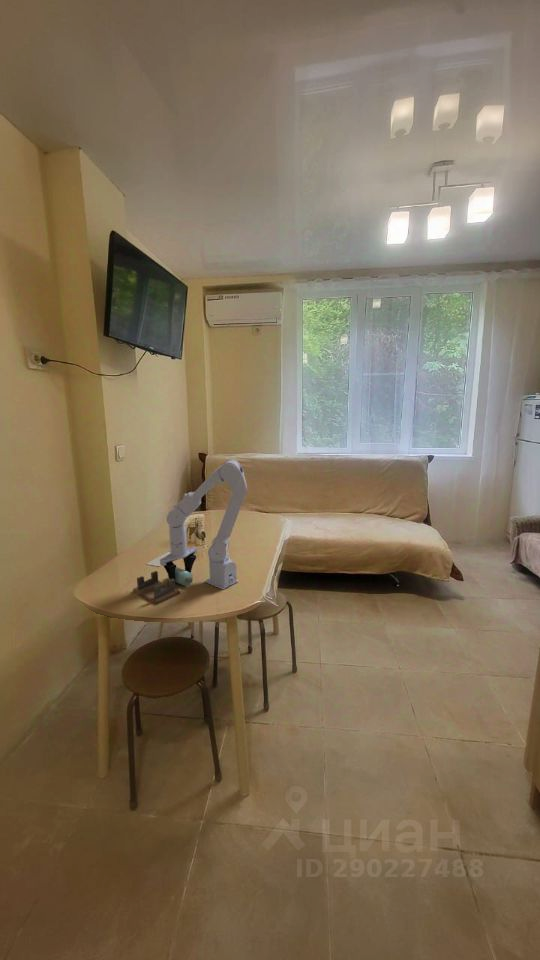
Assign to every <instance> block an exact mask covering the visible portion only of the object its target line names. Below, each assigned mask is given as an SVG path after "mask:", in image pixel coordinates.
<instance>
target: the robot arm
mask: <svg viewBox="0 0 540 960" xmlns="http://www.w3.org/2000/svg"><path fill="white" fill-rule="evenodd" d="M224 482H226V483H227V484H228V486H229V487H230V489H231V491H232V492H231V496H230V497H229V498H230V499H229V501H228V504H227V506H226V509H225V513H224V515H223V517H222V520H221V524H220V526H219V528H218V531H217V534H216V536H215V537H214V538H213V539H212V542H211V545H210V546H209V548H208V551H207V556H208V560H209V561H208V564H209V565H208V566H209V578H208V579H205V580H204V582H205V583H206V584H209V585H211V586H213V587H215V588H218V589H220V590H225V589H227V588H228V587H230V585H231V586H232V585H235V584H236V583H238V582H239V580H238V579H237V565H236V563H235V562H234V561H232V559H231V558H230V554H229V552H228V549H229V547H230V542H229V541H230V537H231V535H232V533H233V532H232V531H233V529H234V526H235V524H236V522H237V519H238V515H239V513H240V510H241V508H242V505H243V502H244V500H245V497H246V494H247V490H248V484H247V481H246V476H245V472H244V468H243V467H242V465H241V464H240V462H239V461H238V460H235V459H231V458H230V459H227V460H226V461H225V462H224V463H223V464H222V465H220V466H219V467H217V468H216V469H215V470H214V471H212V473H211V474H209V476H207V478H206V479H205V480H204V481H203V482H202V483H201V484H200V485H199V486H198V487H197V489H196V490H195V491H190V492H188V493H184V494H183V495H182V499H181V500H180V501H179V502H178V503H176V504H174V505H173V509H171V510H170V511H169V512H168V514H167V515H166V522H167V524H168V529H169V533H168V534H169V547H170V548H169V549H170V550H169V551H171V552H170V554H169V555H167V556H166V557H164V558H162V559H160V565H162V566H163V568H164V569H165V571H166V572H167V577H168V576H169V578H168V580H170V579H175V570H176V567H178V566H177V564H174V562H176V561H178V560H181V559H182V560H183V563H184V570H185V571H187V572H190V573H191V574H192V570H193V565H194V563H195V561H196V559H197V555H196V554H198V548H196V547H195V546H193V547H188V543H187V542H188V541H187V528H186V526H187V525H186V520H187V518H188V517H190V515H192V514H193V513H194V512H195V510H197V509H198V508H199V506H200V505H201V504H202V498H203V496H205V495H206V494H207V493H208V492H209V491H211V489H212V488H213V487H214V486H215V485H216V484H222V483H224Z"/></svg>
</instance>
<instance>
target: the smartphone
mask: <svg viewBox="0 0 540 960" xmlns="http://www.w3.org/2000/svg"><path fill="white" fill-rule="evenodd" d="M170 552H171V550H168V551H166V552H164V553H163V554H161V555H159V556H157V557H156V558H154V559H152V560H150V561H147V562H146V563H145V565H146V566H150V567H151V566H152V567H158V568H159V567H161V566H163V565H160V559H162V558H164V557H166V556H167V555H169V554H170Z"/></svg>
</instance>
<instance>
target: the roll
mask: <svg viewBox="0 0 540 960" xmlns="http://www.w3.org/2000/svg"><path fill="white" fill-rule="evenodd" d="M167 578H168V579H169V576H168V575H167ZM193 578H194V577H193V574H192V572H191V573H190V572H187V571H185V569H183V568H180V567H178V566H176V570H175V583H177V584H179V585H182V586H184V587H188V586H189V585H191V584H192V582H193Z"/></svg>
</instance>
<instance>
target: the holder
mask: <svg viewBox="0 0 540 960" xmlns="http://www.w3.org/2000/svg"><path fill="white" fill-rule="evenodd" d="M136 583H137V586H136V587H134V588H133V589H132V591H133V593H135V594H137V595H138V596H140V597H142V598H144V599H146V600H148V601H150V602H151V603H153V604H155V605H159V604H162V603H164V602H166V601H168V600H170V599H172V598H175V597H176V596H178V595H181V591H180V589H176V582H175V579H168V580H167V583H165V582H162V581H160V580H159V574H158V571H157V570H154V571H152V572H150V578H149V579H147V580H145V577H144V576H139V577H136Z"/></svg>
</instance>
